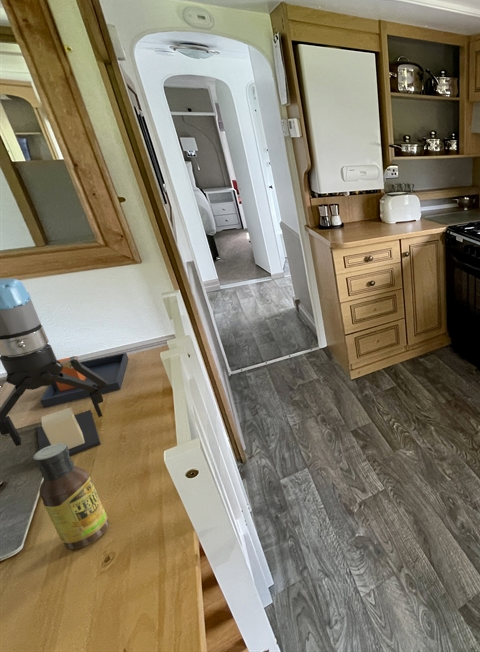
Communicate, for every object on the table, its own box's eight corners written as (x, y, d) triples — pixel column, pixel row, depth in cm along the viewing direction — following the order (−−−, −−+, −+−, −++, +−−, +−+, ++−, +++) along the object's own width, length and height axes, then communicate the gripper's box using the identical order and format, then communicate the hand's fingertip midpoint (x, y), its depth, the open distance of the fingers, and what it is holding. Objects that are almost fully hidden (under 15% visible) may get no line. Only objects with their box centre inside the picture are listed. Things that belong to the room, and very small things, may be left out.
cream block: (82, 433, 94) (70, 407, 91) (84, 443, 91) (72, 416, 88) (54, 443, 91) (40, 417, 88) (55, 454, 88) (41, 426, 85)
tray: (63, 374, 120) (59, 366, 118) (129, 360, 128) (126, 352, 127) (44, 409, 104) (39, 400, 102) (121, 391, 112) (117, 382, 111)
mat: (41, 467, 85) (40, 464, 85) (38, 430, 96) (37, 427, 96) (100, 444, 92) (99, 441, 92) (91, 411, 103) (90, 409, 103)
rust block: (64, 383, 114) (53, 360, 111) (86, 378, 117) (77, 355, 114) (59, 391, 110) (49, 368, 107) (83, 386, 113) (73, 363, 110)
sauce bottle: (97, 547, 69) (55, 463, 61) (56, 554, 67) (8, 470, 60) (118, 516, 74) (83, 436, 67) (81, 522, 73) (40, 441, 66)
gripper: (-74, 379, 70) (-22, 465, 78) (104, 336, 88) (131, 410, 96) (-69, 364, 75) (-21, 447, 83) (99, 326, 93) (126, 398, 100)
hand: (61, 427), depth 89 cm, fingers open, 13 cm apart
